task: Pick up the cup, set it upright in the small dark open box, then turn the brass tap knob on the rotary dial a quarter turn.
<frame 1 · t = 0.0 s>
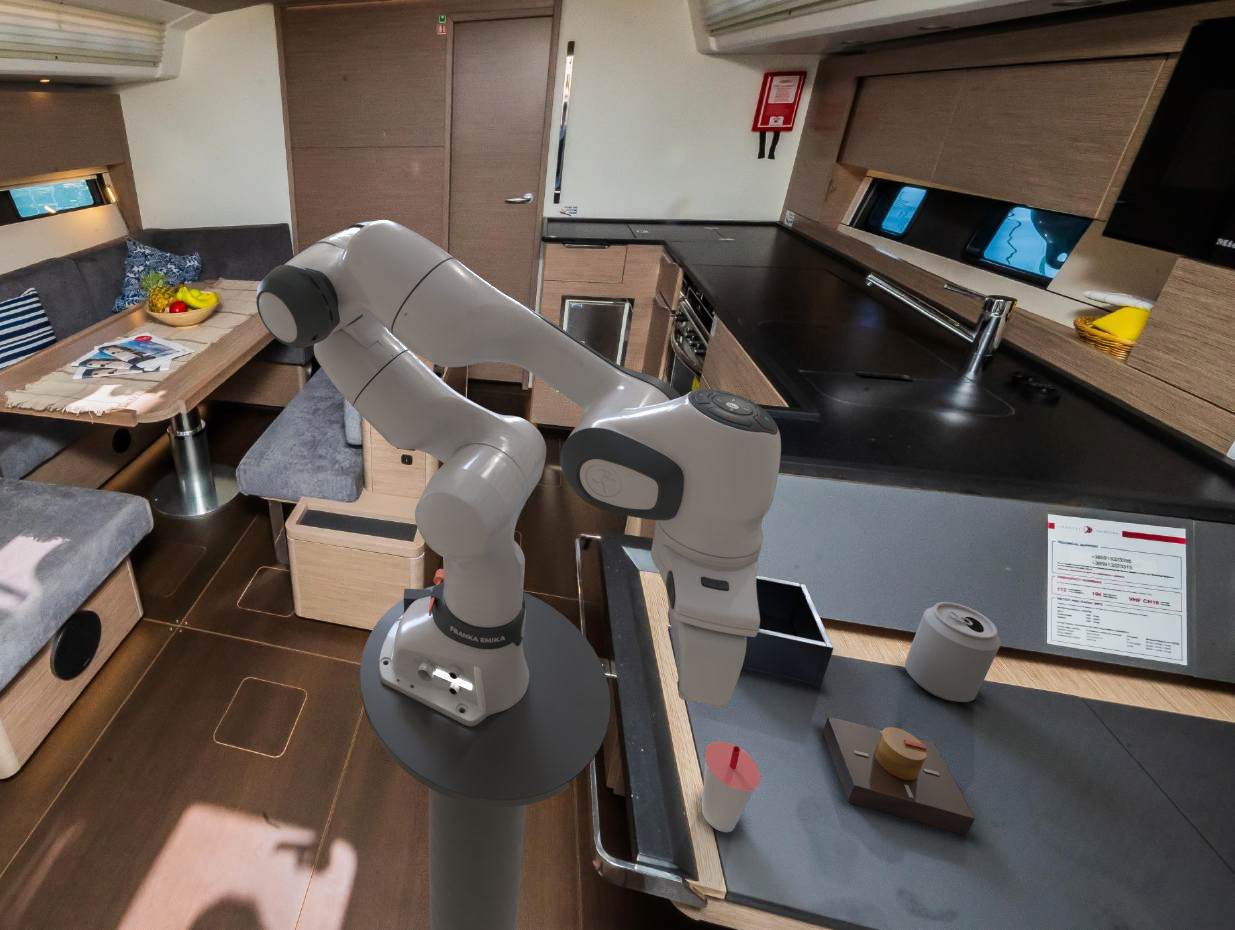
hand: (681, 656, 61), 23 cm above the table, tool pointing down, fingers open, 8 cm apart
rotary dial: (888, 779, 70), on the table
cup: (718, 817, 67), on the table
dark open box: (758, 643, 89), on the table
tap knob: (900, 752, 68), point 5 cm above the table, hinge at 0.0°
can: (937, 683, 82), on the table
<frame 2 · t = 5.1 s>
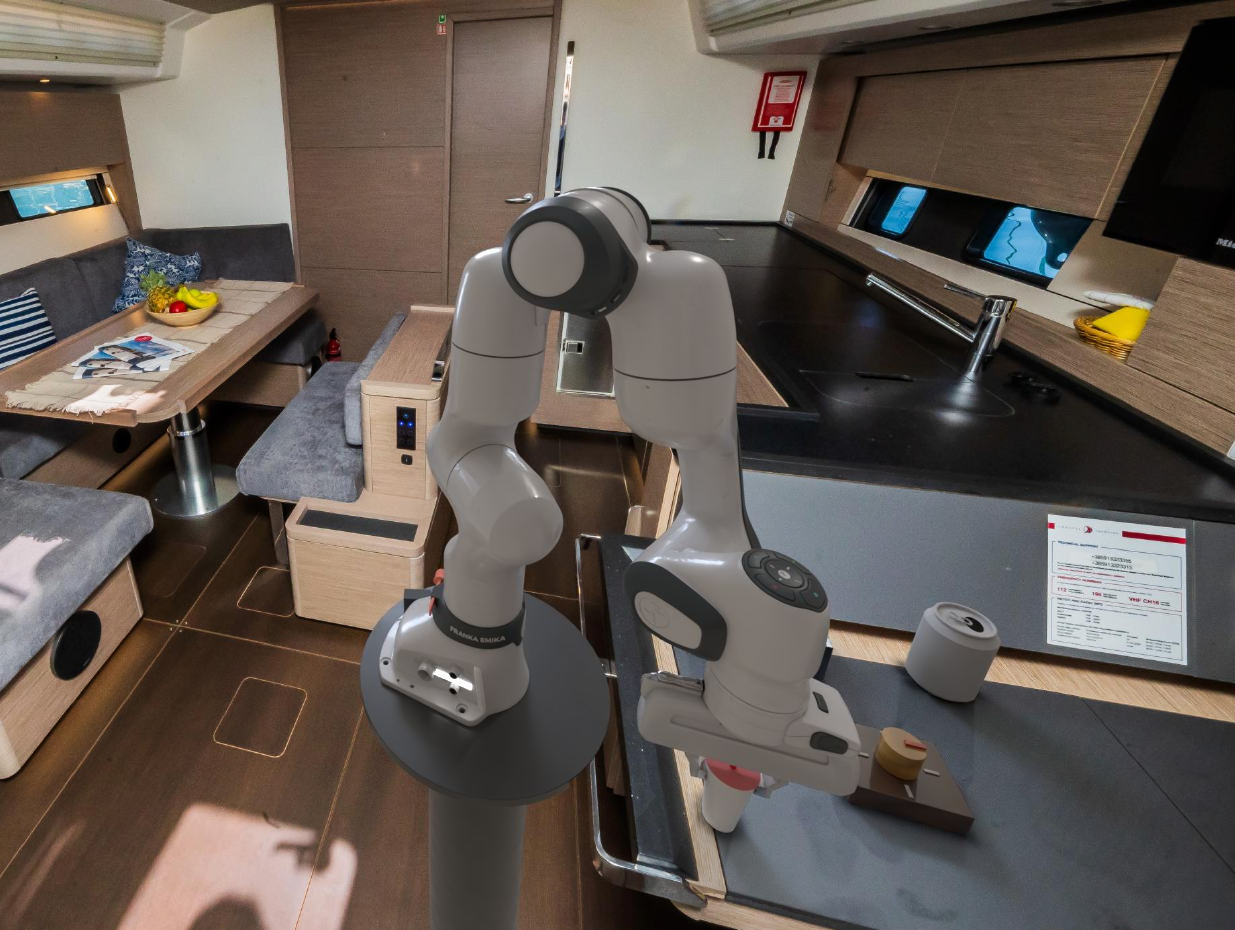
hand: (728, 781, 65), 6 cm above the table, tool pointing down, fingers closed on cup, 5 cm apart
cup: (718, 817, 67), on the table, touching gripper
everything else where it was.
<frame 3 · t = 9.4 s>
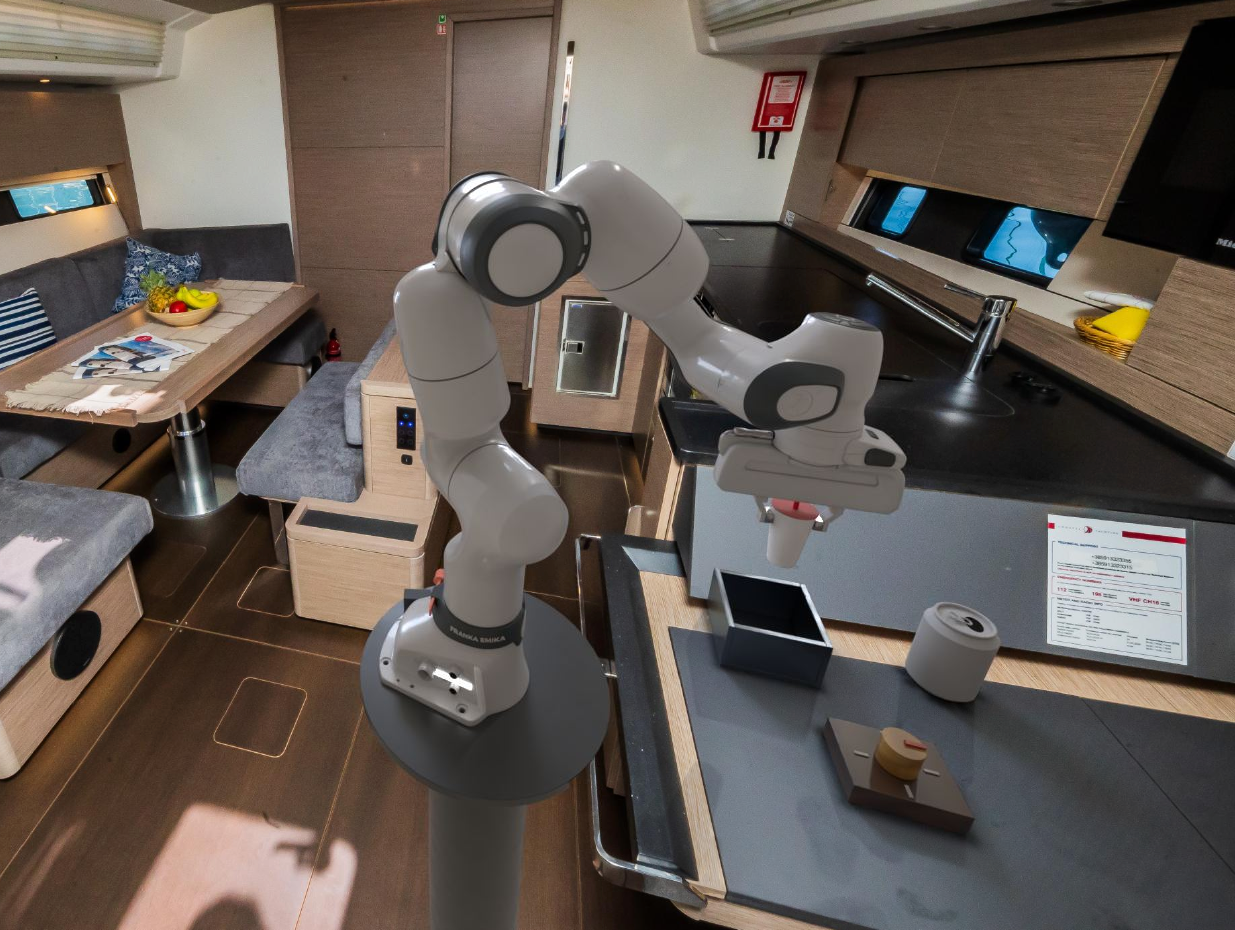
hand: (790, 524, 79), 24 cm above the table, tool pointing down, fingers closed on cup, 5 cm apart
cup: (780, 561, 81), point 17 cm above the table, touching gripper
everything else where it was.
when the fingers open (7 cm above the table, at t = 13.7 s): cup stays where it is, resting on dark open box.
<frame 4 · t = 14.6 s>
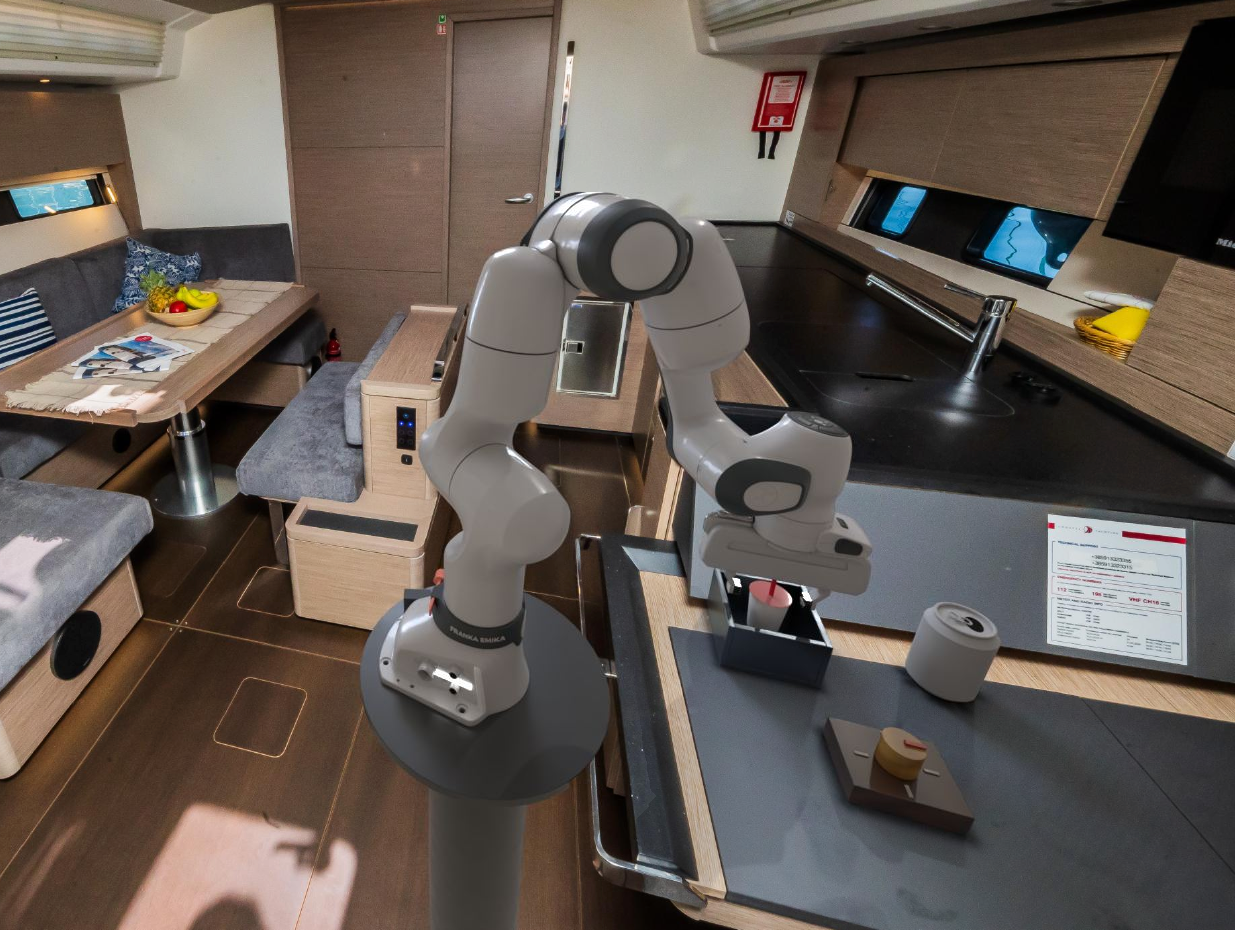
hand: (768, 598, 85), 9 cm above the table, tool pointing down, fingers open, 8 cm apart
cup: (758, 639, 89), point 1 cm above the table, touching dark open box
everything else where it was.
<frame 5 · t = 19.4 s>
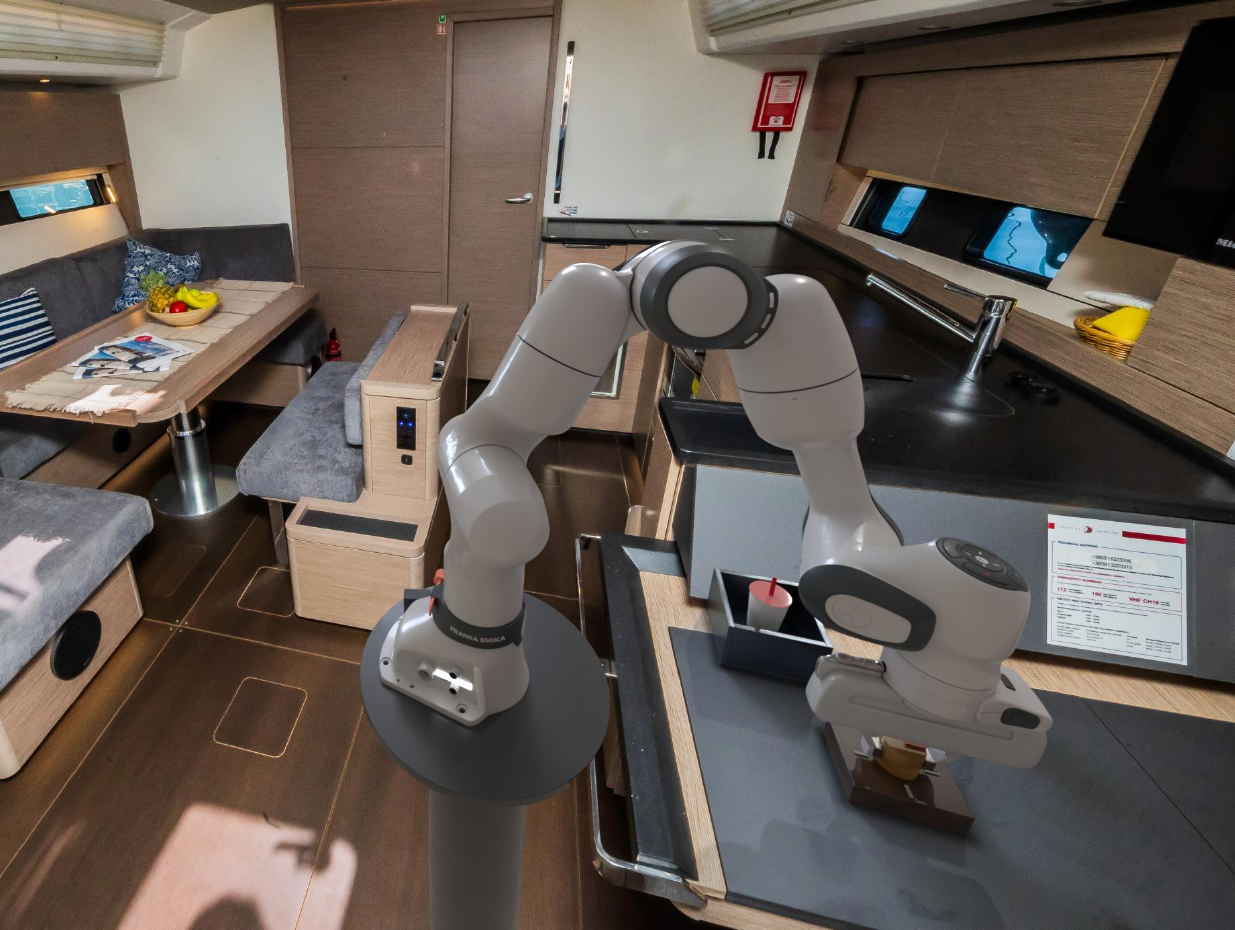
hand: (897, 758, 68), 4 cm above the table, tool pointing down, fingers closed on tap knob, 4 cm apart
tap knob: (900, 752, 68), point 5 cm above the table, hinge at -0.1°, touching gripper
everything else where it was.
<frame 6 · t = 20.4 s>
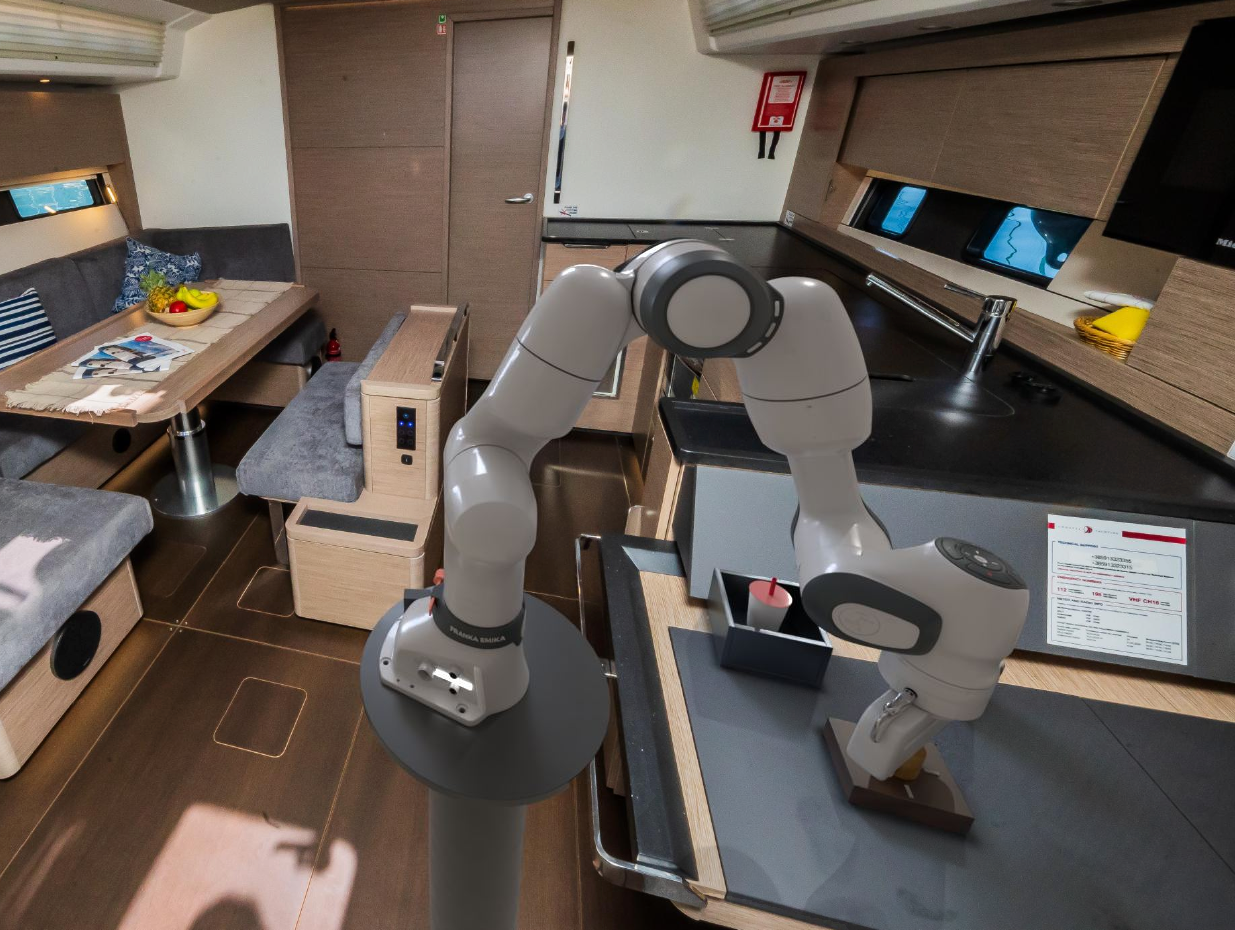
hand: (897, 758, 69), 4 cm above the table, tool pointing down, fingers closed on tap knob, 4 cm apart
tap knob: (900, 752, 68), point 5 cm above the table, hinge at 44.1°, touching gripper
everything else where it was.
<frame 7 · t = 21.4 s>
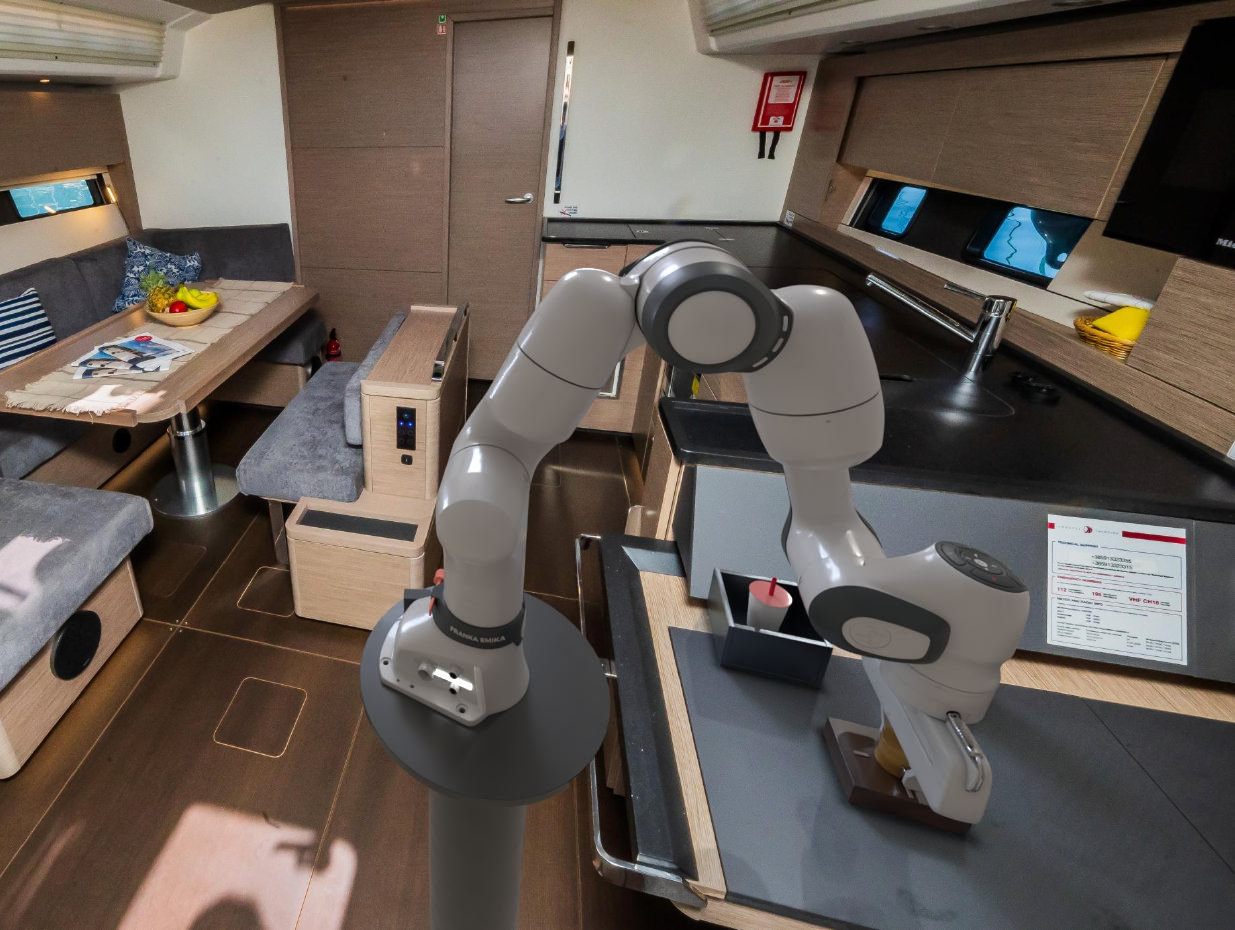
hand: (899, 761, 69), 4 cm above the table, tool pointing down, fingers closed on tap knob, 4 cm apart
tap knob: (900, 752, 68), point 5 cm above the table, hinge at 91.4°, touching gripper
everything else where it was.
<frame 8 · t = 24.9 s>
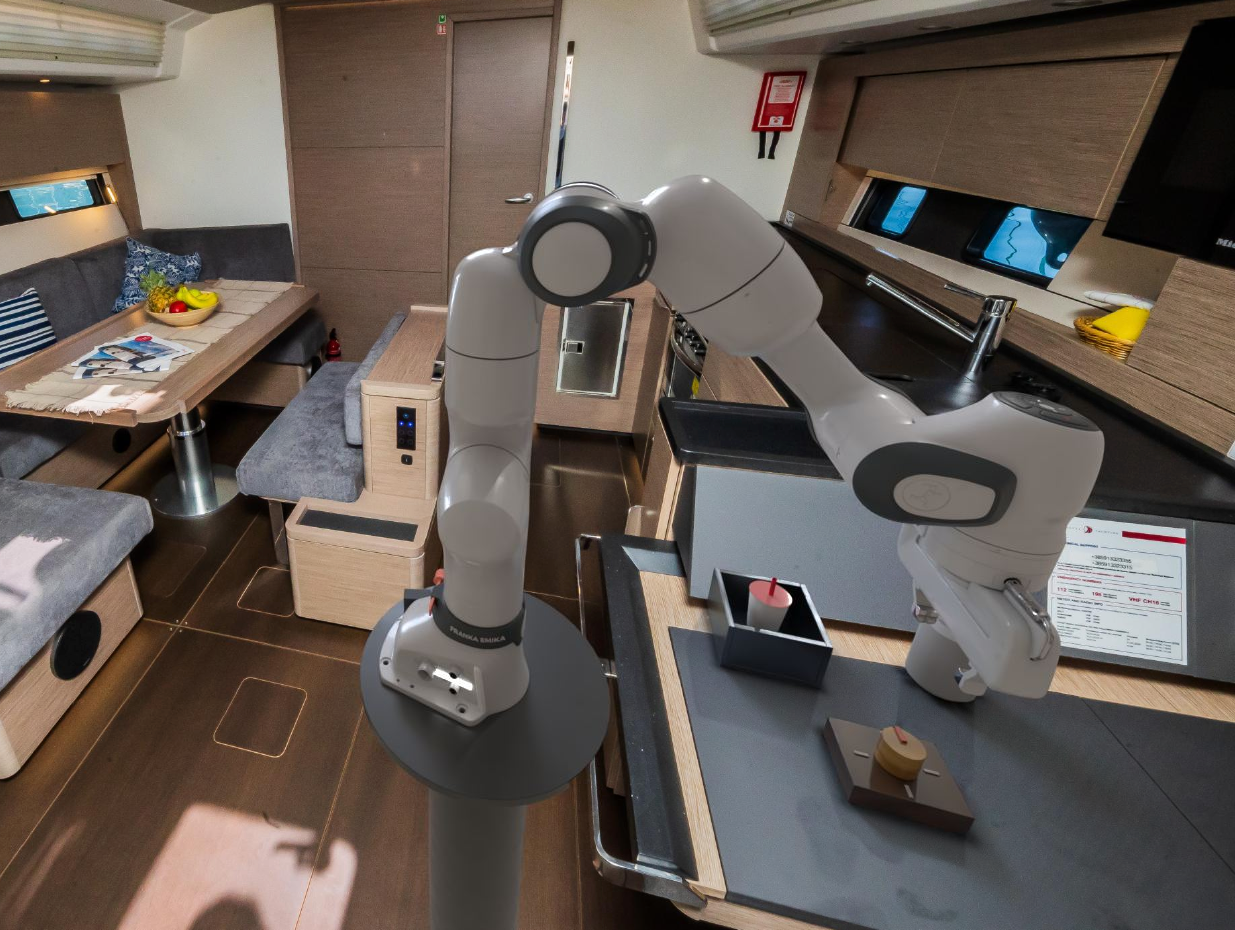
hand: (943, 651, 62), 21 cm above the table, tool pointing down, fingers open, 8 cm apart
tap knob: (900, 752, 68), point 5 cm above the table, hinge at 91.1°
everything else where it was.
at the end: cup inside the target area in the dark open box (0.1 cm from its centre), point 0.6 cm above the dark open box's base; cup tilted 0°; tap knob at +91° (first picture: +0°) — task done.
